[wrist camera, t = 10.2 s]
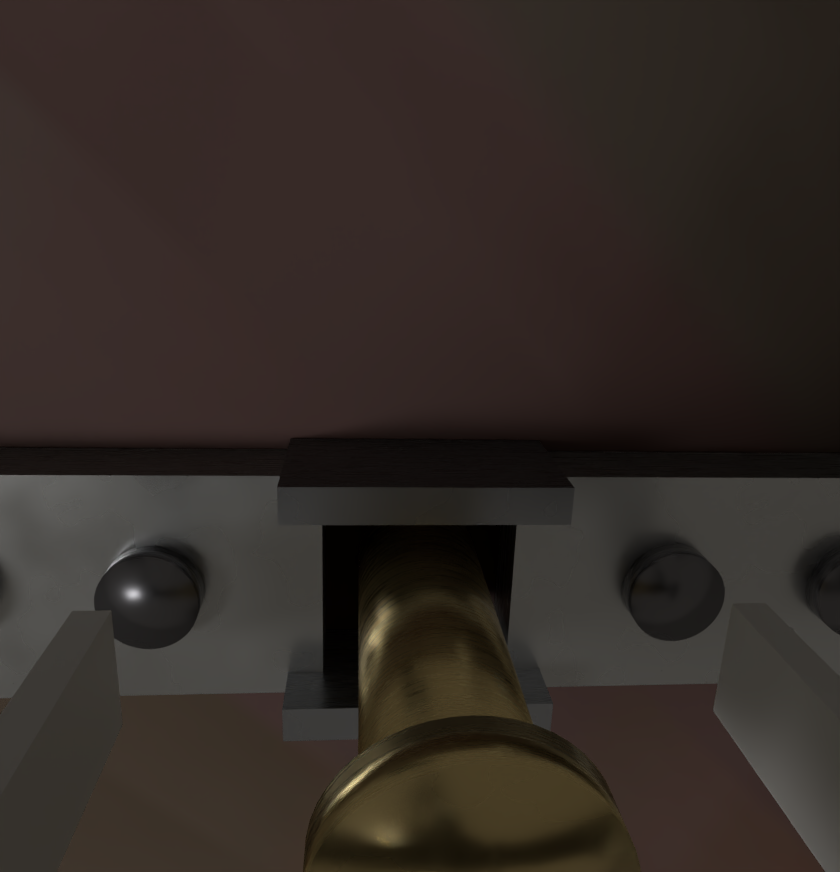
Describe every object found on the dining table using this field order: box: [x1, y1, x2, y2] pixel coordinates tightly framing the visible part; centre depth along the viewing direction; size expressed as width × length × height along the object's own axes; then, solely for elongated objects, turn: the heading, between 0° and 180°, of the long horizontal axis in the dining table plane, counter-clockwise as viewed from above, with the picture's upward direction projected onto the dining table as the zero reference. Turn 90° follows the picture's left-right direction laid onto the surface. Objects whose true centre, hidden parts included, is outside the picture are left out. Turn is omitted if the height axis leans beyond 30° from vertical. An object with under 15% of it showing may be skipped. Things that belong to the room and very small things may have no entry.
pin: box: [303, 525, 641, 872], centre depth 16 cm, size 5×5×11 cm
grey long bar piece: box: [0, 439, 840, 741], centre depth 19 cm, size 29×7×4 cm, turn 88°
